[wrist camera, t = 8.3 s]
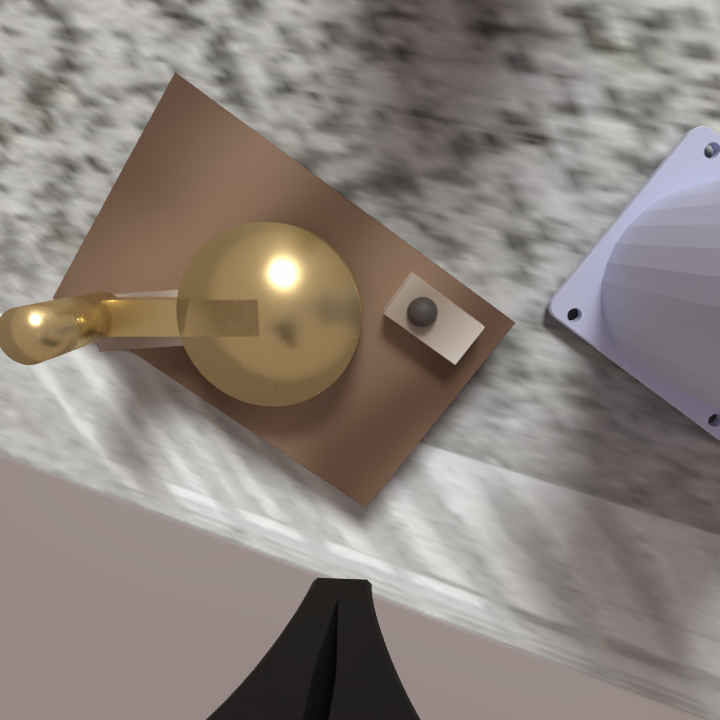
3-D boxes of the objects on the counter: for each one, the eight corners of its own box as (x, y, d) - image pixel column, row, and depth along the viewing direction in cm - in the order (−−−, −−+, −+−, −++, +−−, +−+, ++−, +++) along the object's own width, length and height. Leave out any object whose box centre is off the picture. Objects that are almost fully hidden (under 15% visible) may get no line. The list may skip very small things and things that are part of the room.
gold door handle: (362, 221, 17) (352, 217, 13) (363, 393, 19) (356, 442, 14) (78, 225, 18) (-25, 222, 13) (101, 392, 19) (15, 438, 15)
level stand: (503, 314, 20) (527, 331, 16) (359, 494, 22) (353, 543, 19) (197, 89, 19) (153, 55, 15) (77, 304, 21) (14, 319, 17)
